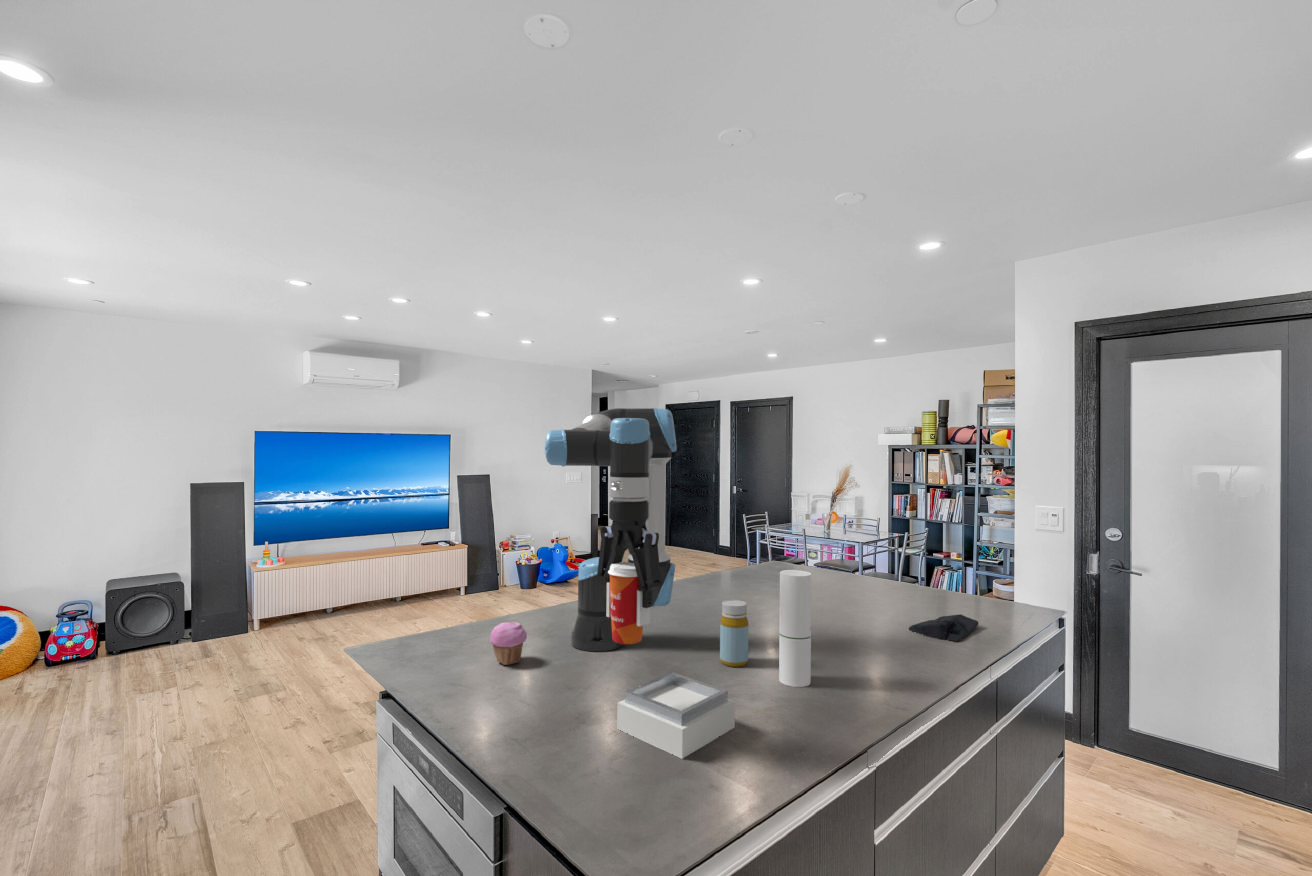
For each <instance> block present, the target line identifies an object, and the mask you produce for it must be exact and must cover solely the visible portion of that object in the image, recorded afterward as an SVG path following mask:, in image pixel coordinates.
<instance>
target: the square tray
mask: <svg viewBox="0 0 1312 876" xmlns="http://www.w3.org/2000/svg"><path fill="white" fill-rule="evenodd" d="M728 694H729V692H728V690H726V689H724V688H720V687H717V686H714V685H712V684H708V683H706V682H703V681H700V680H696V679H695V678H694V679H693V678H691V677H688V676H685V675H682V674H679V673H676V672H673V671H672V672H669V673H667V674H665V675H662V676H660V677H658V678H655V679H653V680H649V681H648V682H645V683H643V684H640V685H638V686H636V687H634V688H631V689H628V690H627V691H624V699H623V700H621V701H618V702H617V705H616V706H617V710H616V711H617V712H616V713H617V715H616V724H617V725H616V729H617V730H618V729H619V730H618V731H620V730H621V731H620V732H622V731H623V733H625V734H627V733H628V734H627V735H628V736H631V737H633V736H634V738H635V739H637V740H640V741H641V742H645V743H647V744H649V745H651V746H652V747H654V748H655V747H656V748H657V749H659V750H662V751H664V752H666V753H668V754H671V755H672V754H673V756H675V757H677V758H680V759H681V760H683V759H685V758H687V757H688V756H690V755H691V754H693V753H695V752H696V751H698V750H700V749H701V748H703V747H705V746H706V745H707V744H710V743H712V742H713V741H714V740H716V739H717V738H718V739H719V736H720V737H721V736H723V735H725V734H726V733H728V732H729V730H730V731H731V730H733V729H734V728H736V726H735V725H736V716H735V715H736V701H735V700H733V699H730V698H729V697H728Z"/></svg>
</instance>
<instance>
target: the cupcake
mask: <svg viewBox="0 0 1312 876" xmlns="http://www.w3.org/2000/svg"><path fill="white" fill-rule="evenodd" d="M527 636H528V633H527V631H526V630H525V628H524V627H523V625H522V624H521V623H520V622H517V621H515V622H514V621H508V622H501V623H499V624H498V625H496V626H494V628H493V629H492V630H491V633H490V638H489V639H490V640H489V641H490V644H492V648H493V653H494V655H495V658H496V661H497V662H498V663H500V664H502V665H503V666H509V665H513V664H517V663H520V660H521V658H522V653H523V647H524V643H525V642H526V641H527Z"/></svg>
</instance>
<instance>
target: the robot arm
mask: <svg viewBox="0 0 1312 876" xmlns="http://www.w3.org/2000/svg"><path fill="white" fill-rule="evenodd" d="M676 451H677V440H676V430H675V424H674V417H673V413H672V411H670V410H669V409H667V408H656V407H653V408H621V407H620V408H618V407H617V408H610V409H606V410H603V411H598V412H596V413H594V414H591V415H589V416H587V417H585V419H583V421H582V423H581V424H579V425H578V426H575V427H573V428H572V429H563V428H560V429H552V430H549V431H548V432H547V434H546V437H545V443H544V455H545V459H546V462H547V463H548V464H549V465H551V466H559V467H560V466H561V467H566V466H567V467H568V466H571V467H572V466H574V467H575V466H576V467H580V466H581V467H587V466H588V467H589V466H593V467H609V497H610V498H611V500H610V501H609V503H608V504H609V505H608V506H609V507H608V508H609V509H608V511H609V512H608V517H609V518H608V519H610V520H611V521H612V523H611V525H610V526H607V525H606V526H602V527H600V539H601V540H600V545H599V546H600V548H599V555H598V557H597V556H596V557H592V558H588V559H585V560H583V561H582V562H581V563H580V564H579V566H578V574H577V575H578V576H577V617H576V620H575V622H574V623H575V624H574V626H573V630H572V632H571V635H570V645H571V646H573V648H576V649H577V650H581V651H588V652H607V651H614V650H618V649H620V648H622V647H624V646H625V645H626V644H620V643H616V642H614V641H613V639H612V622H611V598H610V574H609V573H608V571H609V570H610V566H611V564H614V563H620V562H623V563H625V562H626V561H623V559H624V556H625V552H626V551H627V550H628V553H629V555H628V556H627V559H628V561H627V562H631V563H634V565H635V569H636V573H637V576H638V580H639V584H640V588H639V589H638V590H637V626H639V627H640V626H643V627H644V626H646V625H649V624H651V608H655V607H665V606H668V605H669V604H670V603H671V599H672V594H673V587H674V578H675V571H676V563H673V562H671V556H670V554H669V553H668V552H666V472H667V471H666V470H667V469H666V466H667V463H668V462H669V461H670V460H671V459H672V453H675V452H676Z"/></svg>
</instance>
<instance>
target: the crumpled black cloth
mask: <svg viewBox="0 0 1312 876" xmlns="http://www.w3.org/2000/svg"><path fill="white" fill-rule="evenodd" d="M978 625H979V621H978V620H976V619H974V618H971V617H968V616H966V615H964V614H951V615H944V616H940V617H937V618H935V619H931V620H930V619H929V620H925V621H922V622H918V623H915V624H912V625H910V626H909V627H908V629H909V631H910V632H911V631H912V632H911V633H914V632H916V633H915V634H918V633H919V635H922V634H923V635H922V636H925V635H926V636H925V637H927V638H928V637H929V638H933V639H936V638H937V639H936V640H941V641H942V640H943V641H947V640H948V642H955V643H959V642H961V640H963V639H965V638H966V637H968V636H969V634H970V633H971V632H973V630H975V628H977V626H978Z"/></svg>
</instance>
